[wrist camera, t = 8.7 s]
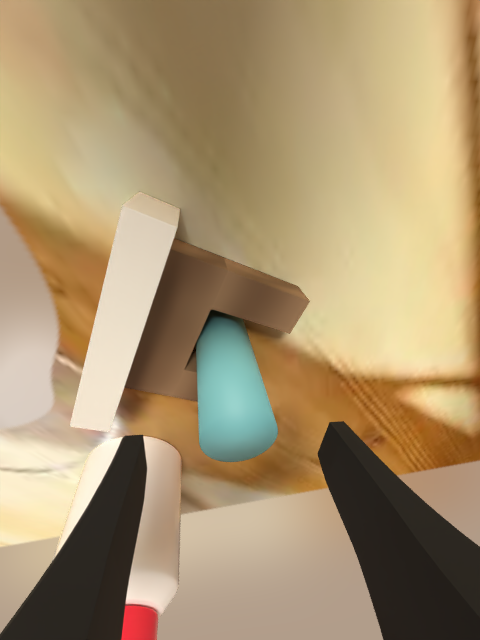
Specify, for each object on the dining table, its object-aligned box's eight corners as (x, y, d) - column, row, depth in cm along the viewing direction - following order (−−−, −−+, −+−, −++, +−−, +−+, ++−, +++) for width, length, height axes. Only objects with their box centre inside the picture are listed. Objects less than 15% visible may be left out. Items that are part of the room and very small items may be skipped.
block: (298, 286, 17) (309, 301, 16) (238, 389, 21) (243, 410, 19) (170, 236, 14) (168, 248, 13) (128, 365, 18) (122, 387, 17)
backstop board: (180, 208, 14) (177, 227, 10) (123, 381, 19) (109, 432, 15) (139, 191, 13) (122, 205, 10) (91, 375, 18) (69, 426, 15)
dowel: (252, 316, 18) (291, 417, 11) (233, 354, 19) (257, 465, 12) (205, 301, 17) (216, 404, 10) (188, 343, 18) (188, 457, 11)
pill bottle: (118, 499, 26) (78, 694, 17) (64, 455, 22) (-29, 682, 12) (195, 472, 26) (199, 655, 16) (156, 422, 21) (131, 630, 12)
